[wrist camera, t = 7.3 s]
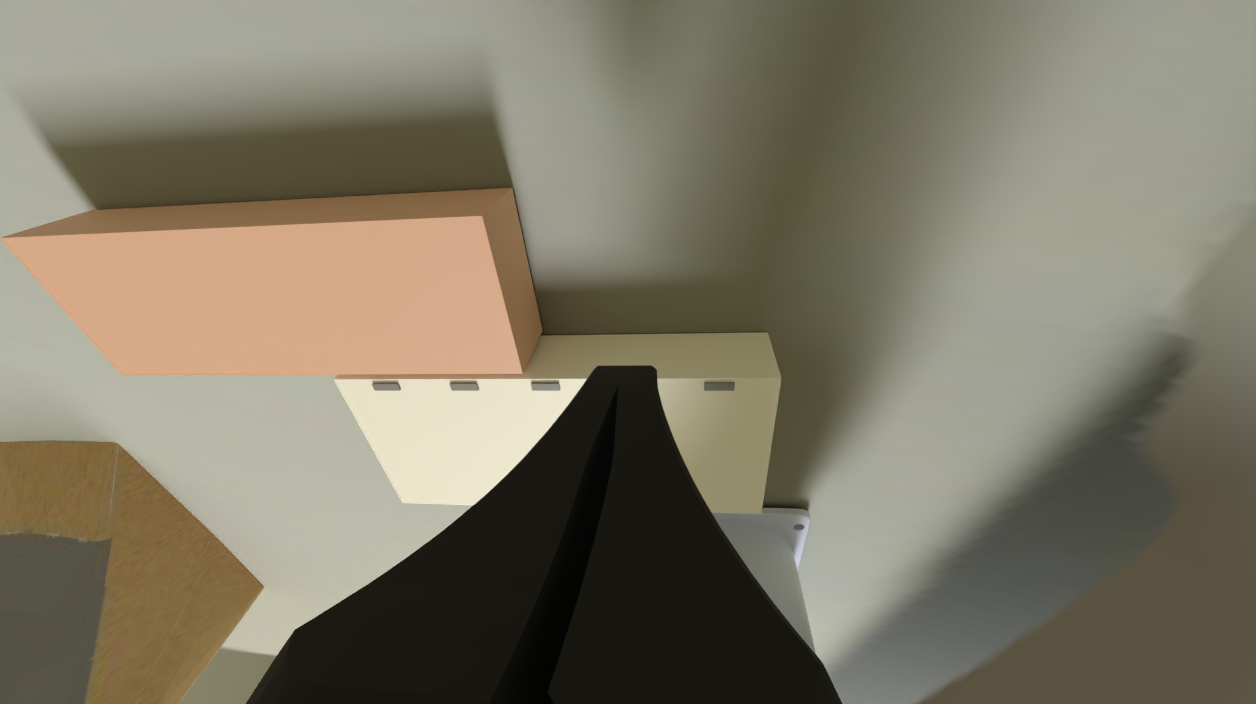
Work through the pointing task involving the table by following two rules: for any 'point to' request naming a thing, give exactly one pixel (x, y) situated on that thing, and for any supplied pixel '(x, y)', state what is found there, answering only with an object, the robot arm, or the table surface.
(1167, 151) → the table surface
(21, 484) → the sandwich container
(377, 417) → the board
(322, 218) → the block
